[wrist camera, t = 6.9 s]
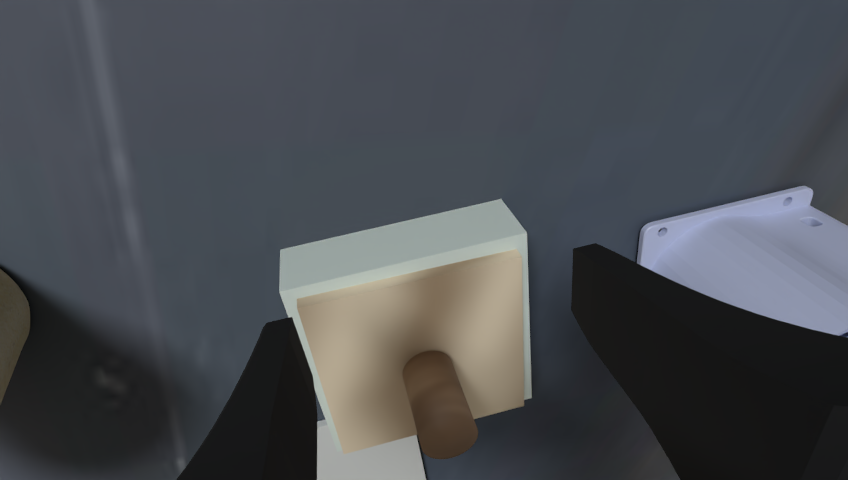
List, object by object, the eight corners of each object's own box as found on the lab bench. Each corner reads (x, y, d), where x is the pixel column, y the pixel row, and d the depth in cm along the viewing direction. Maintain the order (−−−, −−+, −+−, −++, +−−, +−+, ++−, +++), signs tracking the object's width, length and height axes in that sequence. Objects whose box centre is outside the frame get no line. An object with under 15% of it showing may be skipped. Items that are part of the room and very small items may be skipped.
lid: (516, 248, 21) (566, 320, 17) (519, 396, 26) (559, 477, 22) (296, 298, 20) (299, 387, 16) (342, 443, 25) (352, 537, 21)
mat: (408, 397, 29) (409, 403, 28) (430, 499, 34) (431, 504, 34) (224, 446, 28) (224, 452, 27) (277, 543, 33) (277, 550, 33)
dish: (498, 195, 24) (527, 232, 21) (508, 351, 29) (531, 397, 26) (280, 245, 23) (279, 291, 20) (332, 398, 28) (337, 451, 25)
